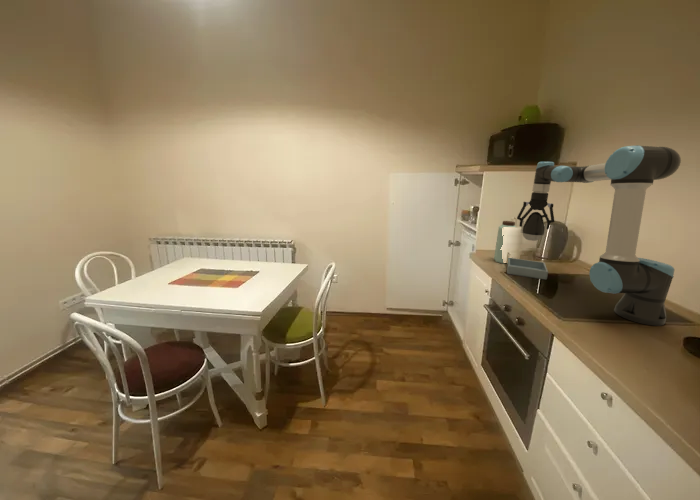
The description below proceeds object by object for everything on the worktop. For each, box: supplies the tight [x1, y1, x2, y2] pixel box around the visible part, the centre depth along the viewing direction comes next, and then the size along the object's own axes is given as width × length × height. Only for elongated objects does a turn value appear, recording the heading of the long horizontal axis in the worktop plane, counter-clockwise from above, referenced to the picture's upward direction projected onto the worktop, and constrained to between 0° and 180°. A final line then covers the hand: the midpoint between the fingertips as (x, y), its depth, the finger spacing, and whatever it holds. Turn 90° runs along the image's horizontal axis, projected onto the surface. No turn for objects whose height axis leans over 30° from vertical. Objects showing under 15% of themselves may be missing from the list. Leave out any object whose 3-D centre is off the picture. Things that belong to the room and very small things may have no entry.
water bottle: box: [493, 220, 517, 264], centre depth 190 cm, size 10×10×25 cm
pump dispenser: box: [521, 211, 549, 242], centre depth 168 cm, size 10×10×15 cm
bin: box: [506, 257, 549, 281], centre depth 174 cm, size 19×19×4 cm
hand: (532, 233), depth 169 cm, fingers closed on pump dispenser, 10 cm apart
